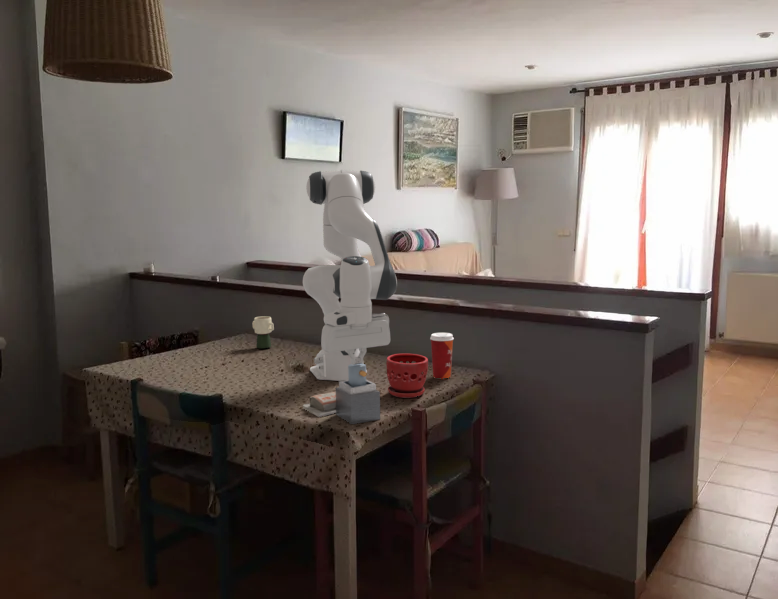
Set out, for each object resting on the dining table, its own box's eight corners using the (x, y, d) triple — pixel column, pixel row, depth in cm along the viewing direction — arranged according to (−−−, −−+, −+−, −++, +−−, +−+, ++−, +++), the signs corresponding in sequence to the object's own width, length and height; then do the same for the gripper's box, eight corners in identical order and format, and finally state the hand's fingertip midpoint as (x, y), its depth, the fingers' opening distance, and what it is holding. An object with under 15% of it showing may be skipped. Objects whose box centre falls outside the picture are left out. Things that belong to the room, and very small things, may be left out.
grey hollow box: (336, 414, 193) (335, 381, 192) (364, 409, 198) (363, 376, 196) (351, 424, 185) (350, 389, 183) (380, 419, 189) (379, 384, 188)
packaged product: (353, 384, 209) (371, 391, 201) (353, 399, 210) (371, 407, 202) (301, 394, 199) (318, 402, 191) (302, 410, 199) (318, 419, 191)
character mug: (279, 347, 282) (278, 317, 280) (268, 351, 276) (267, 320, 274) (259, 345, 287) (257, 315, 285) (248, 348, 281) (246, 318, 279)
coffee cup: (455, 379, 230) (455, 336, 227) (431, 380, 229) (431, 337, 227) (451, 373, 238) (451, 331, 236) (428, 374, 237) (428, 332, 235)
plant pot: (385, 400, 207) (385, 362, 205) (387, 388, 220) (387, 352, 218) (428, 400, 206) (428, 362, 204) (427, 388, 219) (427, 352, 217)
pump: (345, 388, 191) (345, 364, 190) (361, 386, 193) (360, 362, 192) (356, 395, 185) (356, 370, 184) (372, 392, 187) (372, 367, 186)
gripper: (383, 310, 195) (384, 357, 197) (318, 317, 185) (319, 366, 187) (394, 313, 189) (394, 361, 191) (327, 320, 179) (328, 371, 181)
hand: (357, 364), depth 189 cm, fingers closed
